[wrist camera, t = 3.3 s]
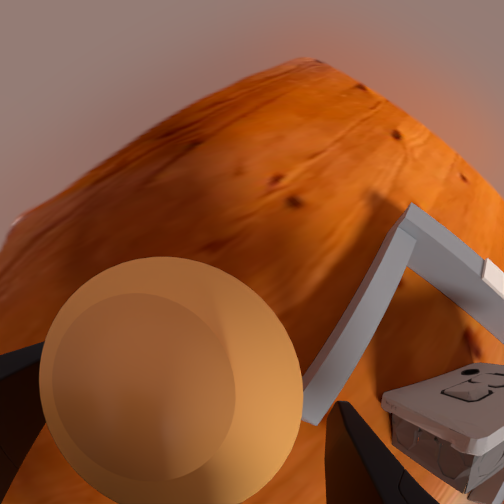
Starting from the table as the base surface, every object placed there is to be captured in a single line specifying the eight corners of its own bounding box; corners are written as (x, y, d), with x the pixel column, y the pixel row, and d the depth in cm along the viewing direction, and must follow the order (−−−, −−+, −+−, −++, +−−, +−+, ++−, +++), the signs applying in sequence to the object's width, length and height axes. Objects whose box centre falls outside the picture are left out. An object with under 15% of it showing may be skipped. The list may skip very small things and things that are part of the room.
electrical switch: (473, 361, 16) (567, 342, 8) (475, 422, 15) (565, 424, 6) (374, 393, 16) (478, 401, 7) (376, 464, 14) (467, 510, 5)
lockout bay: (476, 502, 11) (510, 508, 7) (281, 406, 15) (296, 411, 11) (532, 352, 16) (564, 340, 13) (388, 231, 21) (413, 198, 17)
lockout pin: (260, 419, 15) (355, 505, 2) (184, 432, 14) (40, 527, 2) (242, 348, 17) (269, 200, 4) (169, 361, 16) (7, 256, 4)
